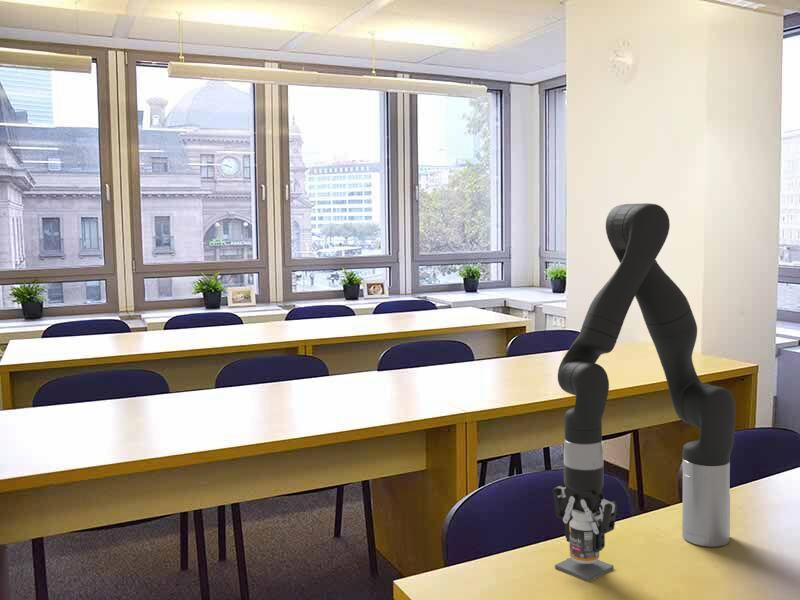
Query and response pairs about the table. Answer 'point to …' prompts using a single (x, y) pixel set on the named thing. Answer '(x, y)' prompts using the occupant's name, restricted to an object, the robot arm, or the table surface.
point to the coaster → (584, 569)
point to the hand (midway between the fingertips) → (584, 545)
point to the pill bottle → (581, 539)
